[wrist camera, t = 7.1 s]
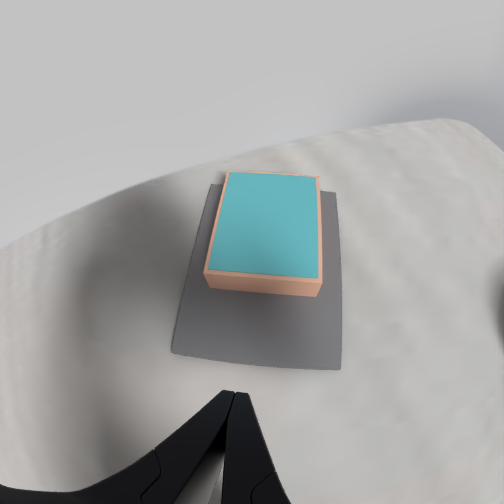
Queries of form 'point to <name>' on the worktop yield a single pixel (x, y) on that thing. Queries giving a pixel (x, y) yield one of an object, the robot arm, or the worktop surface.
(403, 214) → the worktop surface
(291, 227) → the pink and teal block
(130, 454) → the worktop surface
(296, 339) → the mat
